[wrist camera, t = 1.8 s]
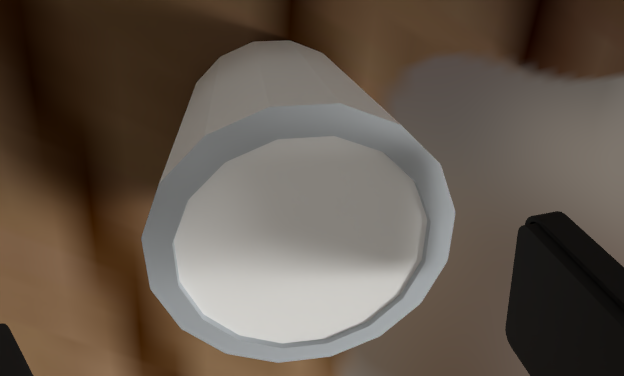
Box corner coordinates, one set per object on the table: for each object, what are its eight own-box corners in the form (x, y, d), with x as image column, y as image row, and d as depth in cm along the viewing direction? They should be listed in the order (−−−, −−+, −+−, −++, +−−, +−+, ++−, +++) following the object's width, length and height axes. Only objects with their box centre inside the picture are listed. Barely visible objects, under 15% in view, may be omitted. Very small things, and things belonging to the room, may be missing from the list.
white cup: (361, -6, 16) (449, 66, 10) (387, 188, 20) (464, 325, 14) (133, 47, 16) (85, 153, 10) (201, 234, 19) (196, 395, 13)
